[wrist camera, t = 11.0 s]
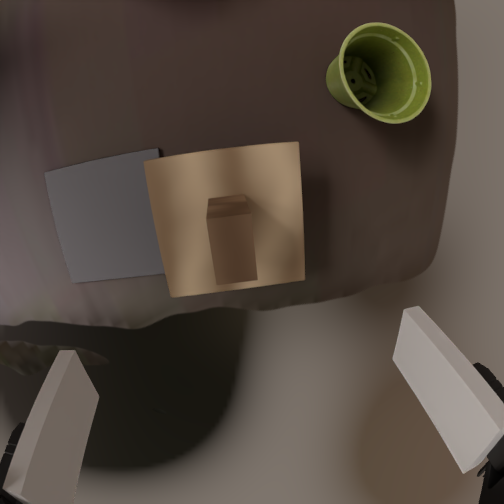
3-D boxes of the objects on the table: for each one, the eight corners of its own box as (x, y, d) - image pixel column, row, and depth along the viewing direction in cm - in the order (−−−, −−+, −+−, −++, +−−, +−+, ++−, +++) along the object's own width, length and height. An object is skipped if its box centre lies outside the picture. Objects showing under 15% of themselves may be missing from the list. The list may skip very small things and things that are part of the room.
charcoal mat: (73, 281, 35) (72, 283, 34) (46, 172, 29) (44, 172, 29) (178, 270, 36) (177, 272, 35) (158, 147, 30) (157, 148, 30)
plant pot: (292, 63, 28) (318, 45, 20) (360, 30, 27) (398, 10, 19) (338, 136, 32) (375, 142, 24) (400, 99, 30) (445, 98, 23)
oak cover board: (172, 293, 30) (162, 335, 24) (145, 160, 25) (123, 172, 19) (303, 276, 31) (323, 314, 25) (296, 141, 26) (321, 147, 20)
